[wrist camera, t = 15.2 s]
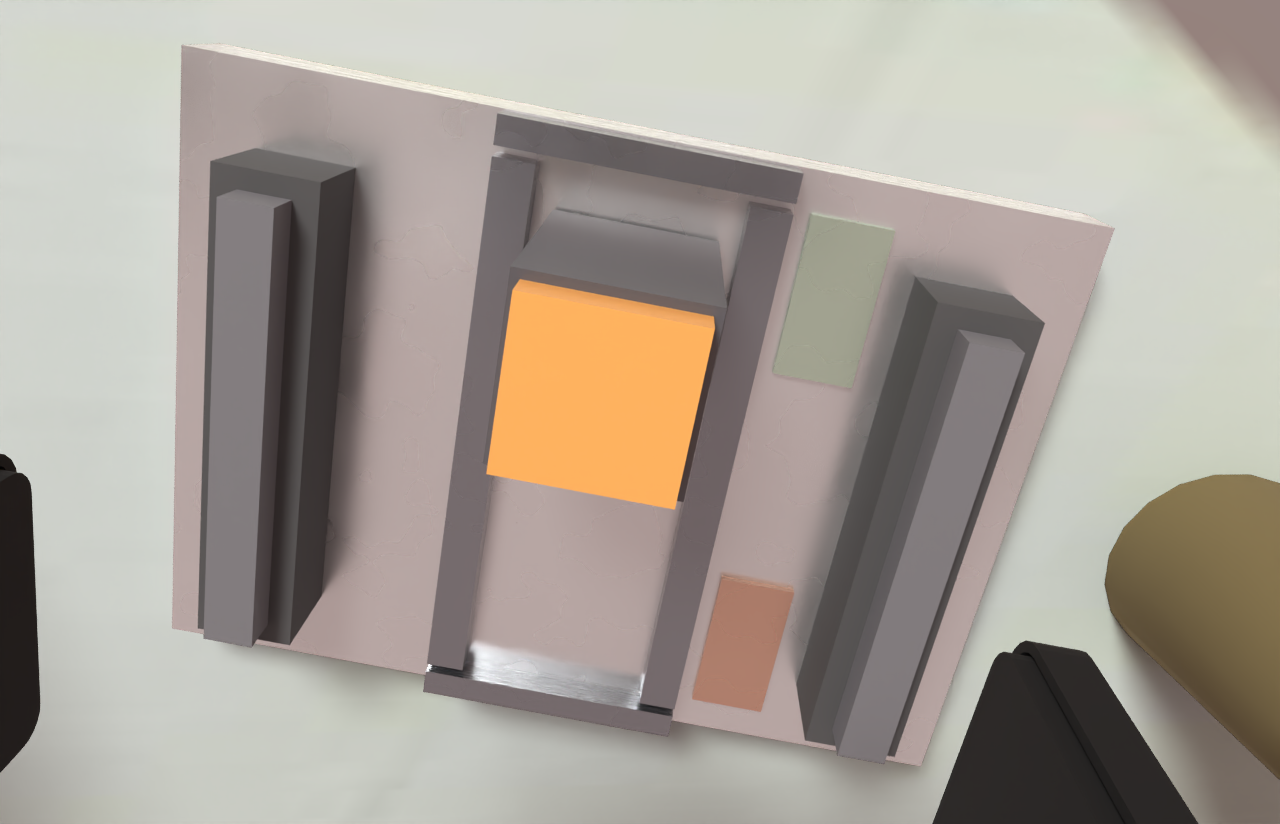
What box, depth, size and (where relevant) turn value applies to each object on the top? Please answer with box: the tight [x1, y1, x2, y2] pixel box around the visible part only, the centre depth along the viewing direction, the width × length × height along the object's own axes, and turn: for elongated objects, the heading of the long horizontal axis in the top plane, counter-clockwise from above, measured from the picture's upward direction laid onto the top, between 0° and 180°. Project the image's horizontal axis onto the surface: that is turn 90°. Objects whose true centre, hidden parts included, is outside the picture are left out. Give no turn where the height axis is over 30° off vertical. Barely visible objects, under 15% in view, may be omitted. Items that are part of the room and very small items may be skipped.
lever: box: [483, 209, 727, 510], centre depth 21 cm, size 4×4×7 cm
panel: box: [172, 43, 1115, 766], centre depth 27 cm, size 22×16×3 cm
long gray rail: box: [198, 148, 1045, 764], centre depth 25 cm, size 18×12×3 cm, turn 80°
